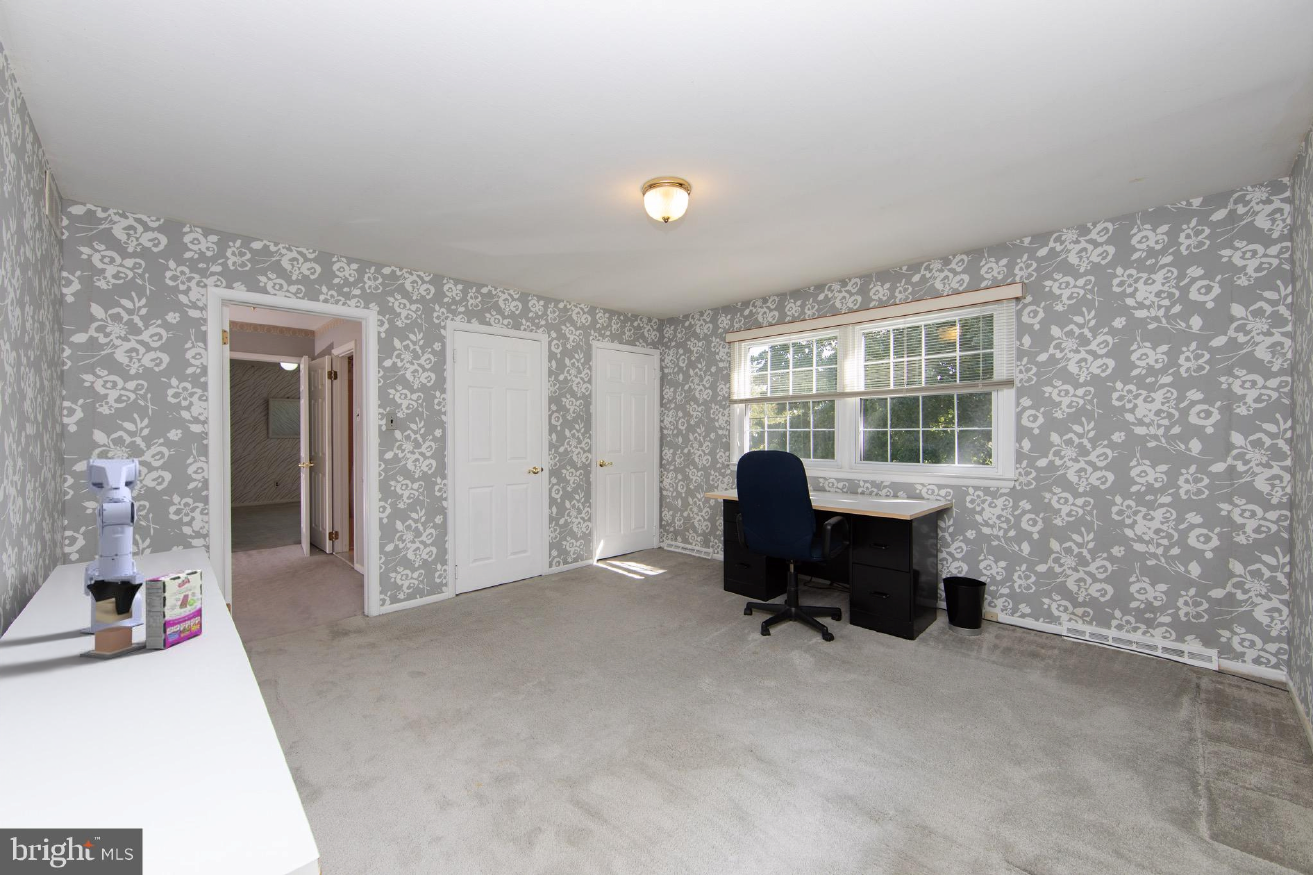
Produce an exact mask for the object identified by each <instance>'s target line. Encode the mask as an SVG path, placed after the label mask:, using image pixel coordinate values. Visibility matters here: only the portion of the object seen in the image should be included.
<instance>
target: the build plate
mask: <svg viewBox="0 0 1313 875" xmlns="http://www.w3.org/2000/svg"><path fill="white" fill-rule="evenodd" d="M143 648H144V649H145V648H146V643H137V642H132V646H130V647H127V648H124V649H121V650H117V651H114V652H111V653H108V652H97V651H95V648H94V649H91V650H88V651H84V652H81V653H79V657H82V658H83V657H84V658H93V659H101V660H103V659H104V660H110V659H113V658H116V657H120V656H122V655H125V654H128V653H132V652H135V651H138V650H141V649H143Z"/></svg>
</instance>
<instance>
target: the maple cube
mask: <svg viewBox="0 0 1313 875" xmlns="http://www.w3.org/2000/svg"><path fill="white" fill-rule="evenodd" d="M132 605H133V603H132ZM130 618H132V606H131V609H130V612H129V613H126V614H122V615H117V612H116V603H115V598H113V599H109V600H104V601H100V602H96V603H95V622H97V623H109V624H111V623H115V622H119V621H122V620H126V619H130Z"/></svg>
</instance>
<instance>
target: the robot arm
mask: <svg viewBox="0 0 1313 875" xmlns="http://www.w3.org/2000/svg"><path fill="white" fill-rule="evenodd" d="M139 470H140V468H139V460H138V459H136V458H130V459H129V458H128V459H127V458H125V459H123V458H116V459H114V458H113V459H110V458H109V459H106V458H105V459H93V458H89V459H88V460H86V489H88V492H89V493H92V494H96V495H97V497H98V505H97V507H96V526H97V532H98V533H97V535H98V536H97V537H98V558H96V559H95V560H93V561H91V562H89V563H88V564H87V565H86V567H85V572H84V577H83V578H84V580H83V581H84V582H83V583H84V584H83V585H84V586H83V587H84V588H83V590H84V591H83V592H84V594H83V595H85V596H86V597H90V627H88V628H85V629H81V630H80V632H81V633H86V634H87V633H89V634H95V631H99V630H102V629H106V628H109V627H113V626H117V625H118V626H131V627H132V628H133V627H135V626H138V625H143V624H145V621H143V598H142V595H141V594H140V592H139V591H140V589H141V588H142V586H143V585H144V583H146V575H145V573H140V572H137V562H135V560H134V559H133V540H134V539H133V537H134V536H133V535H134V534H133V533H134V531H133V529H134V526H135V524H136V520H137V505H136V503H135V501H134V500H132V498H133V497H132V491H135V489H136V487H137V485H138V484H137V483H138V481H139V474H140V472H139ZM131 524H132V525H133V526H132V525H131ZM113 598H115V603H116V612H117V615H122V614H126V613H129V612H130V609H131V606H132V618H130V619H126V620H122V621H119V622H115V623H111V624H109V623H97V622H95V603H96V602H100V601H104V600H109V599H113ZM132 603H133V605H132Z"/></svg>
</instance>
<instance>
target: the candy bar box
mask: <svg viewBox="0 0 1313 875" xmlns="http://www.w3.org/2000/svg"><path fill="white" fill-rule="evenodd" d="M202 575H203V574H202V569H182V570H179V571H175V572H172V573H168V574H164V575H160V576H158V577H153V578H150V579H145V644H146V647H145V649H146V650H167V649H169V648H172V647H175V646H176V645H179V644H181V643H184V642H186V641H188V640H191V639H194V638H196V637H198V636H200V635H202V634H203V626H202V625H203V615H202V614H203V610H202V609H203V605H202V604H203V602H202V601H203V593H202V591H203V588H202V585H203V583H202V580H203V579H202V577H203V576H202ZM195 636H196V637H195ZM190 638H191V639H190Z"/></svg>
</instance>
